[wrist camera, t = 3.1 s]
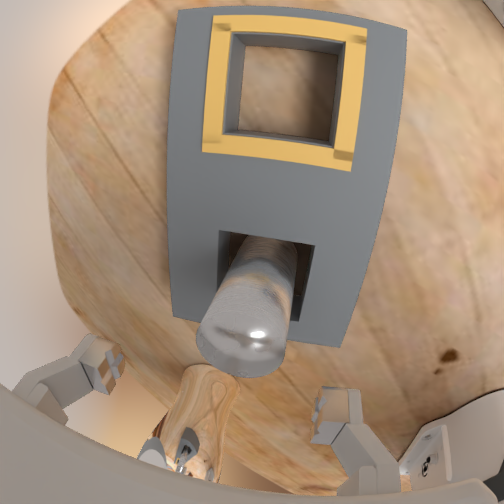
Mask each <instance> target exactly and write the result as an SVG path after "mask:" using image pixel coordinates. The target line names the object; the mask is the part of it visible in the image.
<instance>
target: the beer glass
mask: <svg viewBox="0 0 504 504" xmlns="http://www.w3.org/2000/svg"><path fill="white" fill-rule="evenodd" d="M239 394H240V386H239V383H238V382H237V380H236V379H235V378H234V377H233V376H232V375H230V374H227V373H224V372H222V371H220V370H218V369H217V368H215V367H214V366H211V365H206V364H196V365H192V366H189V367H188V368H187V369H186V370H185V371H184V373H183V376H182V380H181V385H180V389H179V392H178V395H177V397H176V400H175V401H174V403H173V405H172V406H171V408H170V409H169V411H168V412H167V413H166V415H165V416H164V417H163V419H162V420H161V421H160V423H159V424H158V425H157V427H156V428H155V429H154V431H153V432H152V433H151V435H150V436H149V438H148V439H147V441H146V442H145V444H144V445H143V447H142V449H141V451H140V453H139V455H138V457H137V459H139V460H141V461H144V462H147V463H149V464H152V465H155V466H158V467H161V468H164V469H167V470H171V471H174V472H177V473H181V474H184V475H188V476H191V477H195V478H199V479H203V480H207V481H211V482H216V483H218V482H219V478H220V474H221V469H222V463H223V453H224V442H225V432H226V424H227V420H228V416H229V413H230V411H231V409H232V407H233V405H234V403H235V401H236V400H237V398H238V396H239Z"/></svg>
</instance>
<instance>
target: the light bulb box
mask: <svg viewBox="0 0 504 504" xmlns="http://www.w3.org/2000/svg"><path fill="white" fill-rule="evenodd" d="M483 1H484V2H485V4H486V5H487V6H488V7H489V9H490V10H491V11H492V12H493V14H494V15H495V16H496V18H497V19H498V20H499V22H500V23H501V24H502V26H503V27H504V0H483Z"/></svg>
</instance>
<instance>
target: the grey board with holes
mask: <svg viewBox="0 0 504 504" xmlns="http://www.w3.org/2000/svg"><path fill="white" fill-rule="evenodd" d="M246 46H264V47H279V48H290V49H299V50H308V51H315V52H322V53H329V54H335V55H338V64H337V75H336V84H335V94H334V103H333V111H332V119H331V127H330V135H329V141H324V140H318V139H312V138H305V137H298V136H291V135H283V134H275V133H267V132H257V131H247V130H238V123H239V111H240V100H241V89H242V78H243V67H244V57H245V47H246ZM406 46H407V30H405V29H402V28H399V27H395V26H392V25H388V24H384V23H380V22H376V21H372V20H368V19H364V18H359V17H354V16H349V15H344V14H338V13H332V12H325V11H318V10H310V9H300V8H289V7H273V6H220V7H204V8H193V9H184V10H178V17H177V24H176V32H175V41H174V50H173V60H172V70H171V83H170V97H169V114H168V138H167V229H168V254H169V272H170V287H171V300H172V312H173V316H174V317H178V318H182V319H186V320H190V321H195V322H199V323H201V322H202V320H203V318H204V316H205V314H206V312H207V310H208V308H209V306H210V305H211V303H212V301H213V299H214V297H215V295H216V293H217V291H218V289H219V287H220V285H221V283H222V281H223V279H224V277H225V276H226V274H227V272H228V267H229V250H230V233H231V232H235V233H242V234H248V235H254V236H261V237H267V238H273V239H279V240H286V241H292V242H298V243H304V244H310V245H311V251H310V256H309V261H308V266H307V271H306V276H305V281H304V285H303V290H302V295H301V296H298V295H293V300H292V307H291V315H290V322H289V329H288V336H287V340H291V341H297V342H303V343H310V344H316V345H323V346H331V347H338V348H340V346H341V344H342V341H343V338H344V336H345V333H346V330H347V327H348V325H349V322H350V319H351V316H352V313H353V310H354V308H355V305H356V302H357V299H358V296H359V292H360V289H361V286H362V283H363V280H364V277H365V273H366V270H367V267H368V263H369V260H370V256H371V253H372V249H373V246H374V242H375V238H376V234H377V230H378V227H379V223H380V219H381V214H382V210H383V206H384V202H385V197H386V193H387V188H388V183H389V178H390V173H391V168H392V163H393V158H394V152H395V146H396V140H397V134H398V127H399V120H400V113H401V105H402V96H403V86H404V76H405V63H406Z"/></svg>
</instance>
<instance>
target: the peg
mask: <svg viewBox="0 0 504 504" xmlns="http://www.w3.org/2000/svg"><path fill="white" fill-rule="evenodd" d="M297 259H298V255H297V250H296V247H295V245H294V243H293V242H292V241H286V240H279V239H273V238H267V237H261V236H254V235H249V236H247V237H246V239H245V240H244V241H243V243H242V245H241V247H240V249H239V251H238V253H237V254H236V256H235V258H234V260H233V262H232V264H231V266H230V268H229V270H228V272H227V274H226V276H225V277H224V279H223V281H222V283H221V285H220V287H219V289H218V291H217V293H216V295H215V297H214V299H213V301H212V303H211V305H210V306H209V308H208V310H207V312H206V314H205V316H204V318H203V320H202V322H201V324H200V326H199V328H198V330H197V333H196V343H197V347H198V349H199V351H200V353H201V355H202V356H203V357H204V358H205V360H207V361H208V362H209V363H210V364H211V365H212V366H214V367H215V368H217V369H218V370H220V371H222V372H224V373H227V374H230V375H233V376H237V377H243V378H256V377H262V376H265V375H268V374H270V373H272V372H274V371H275V370H276V369H277V368H278V367H279V366H280V365H281V364H282V362H283V359H284V356H285V349H286V342H287V336H288V329H289V322H290V315H291V307H292V300H293V292H294V284H295V276H296V268H297Z"/></svg>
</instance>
